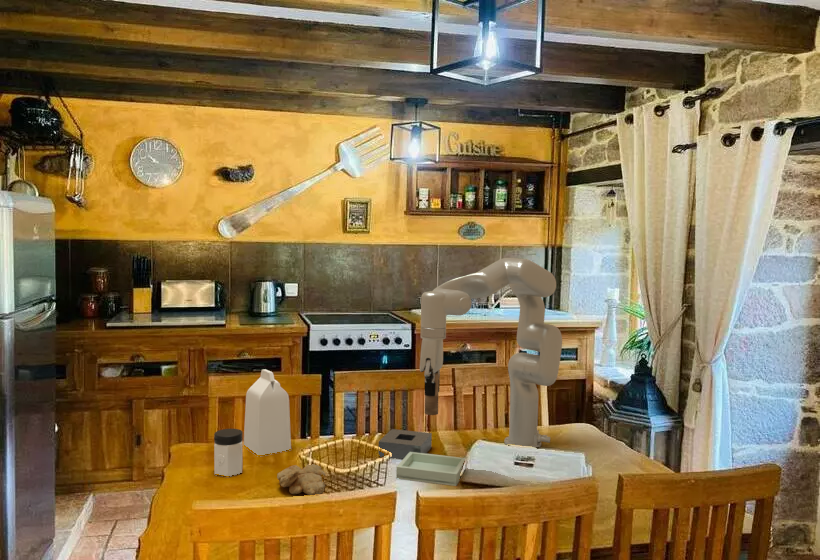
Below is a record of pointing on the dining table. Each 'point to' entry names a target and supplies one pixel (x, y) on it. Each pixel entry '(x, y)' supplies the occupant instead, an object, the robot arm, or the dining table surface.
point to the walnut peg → (432, 399)
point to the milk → (267, 416)
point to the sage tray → (430, 468)
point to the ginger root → (302, 479)
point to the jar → (228, 452)
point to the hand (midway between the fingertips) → (431, 393)
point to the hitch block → (405, 443)
